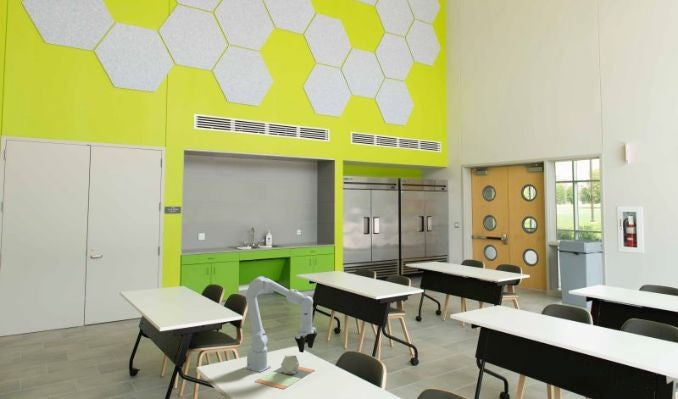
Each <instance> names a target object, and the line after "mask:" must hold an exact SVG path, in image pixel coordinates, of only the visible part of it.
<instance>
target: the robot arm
mask: <svg viewBox="0 0 678 399" xmlns="http://www.w3.org/2000/svg"><path fill="white" fill-rule="evenodd" d="M263 290H264V291H269V290H272V291H274V292H276V293H279V294H281V295H283V296H284V297H285V298H286V300H287V301H289V302H291V303H293V304H295V305H297V306H300V330H299V331H298V332H296V334H295V336H294V340H295V343H296V344H297V347H298V351H299V353H305V352H304V351H305V345H306V340H307V347H308V348H309V349H310V348H311V349H313V347H314V343H315V339H316V338H317V336H318V332H317V327H315V326H313V304H314V299H313V297H312V296H310V295H309V294H308V295H307V294H305V293H302V292H299V291H298V289H297V288H295V289H293V288H291V289H288V288H286V287H285V286H282V285H281V284H279V283H277V282H276V281H275V280H272V279H270V278H268V277H265V276H263V275H259V276H258V277H256V278H254V279H253V280H251V281H250V283H249V285H248V288H247V291H246V292H245V293H246V294H245V301H246V305H247V311H248V316H249V321H250V327H251V331H252V333H251V348H249V350H247V353H246V367H245V369H246V370H250V371H255V372H258V373H262V372H263V371H265V370H267V369H270V368H271V367H272V366H271V365H268V347H267V344H268V343H269V337H268V335H267V334H266V332H265V331H266V330H265V329H264V328H263V322H262V318H261V317H262V316H261V314H260V307H259V303H258V296H259V294H260V293H261V291H263ZM304 336H306V337H304Z"/></svg>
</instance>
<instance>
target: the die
mask: <svg viewBox="0 0 678 399" xmlns="http://www.w3.org/2000/svg"><path fill="white" fill-rule="evenodd" d="M280 366H281V367H282V369H283V371H284V374H296V371H297V369H298V367H300V363H299V359H298V357H297V355H284V357H283V360H282V361H281V364H280Z"/></svg>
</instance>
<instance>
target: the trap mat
mask: <svg viewBox="0 0 678 399" xmlns="http://www.w3.org/2000/svg"><path fill="white" fill-rule="evenodd" d="M314 370H315V369H311V368H307V367H303V366H299V367H298V369H297V371H296V374H284V371H283V369H282V366H281V367H279V368H277V369H276V370H273V371H271V372H269V373H268V374H266V375H264V376H261V377H260V378H258V379H256V380H254V383H258V384H262V385H265V386H270V387H274V388H277V389H279V390H280V389H281V390H285V389H287V388H288V387H290V386H291V385H293V384H295V383H296V382H298V381H300V380H301V379H303V378H305V377H306V376H308V375H309V374H312V373H313V372H315V371H314Z"/></svg>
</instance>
